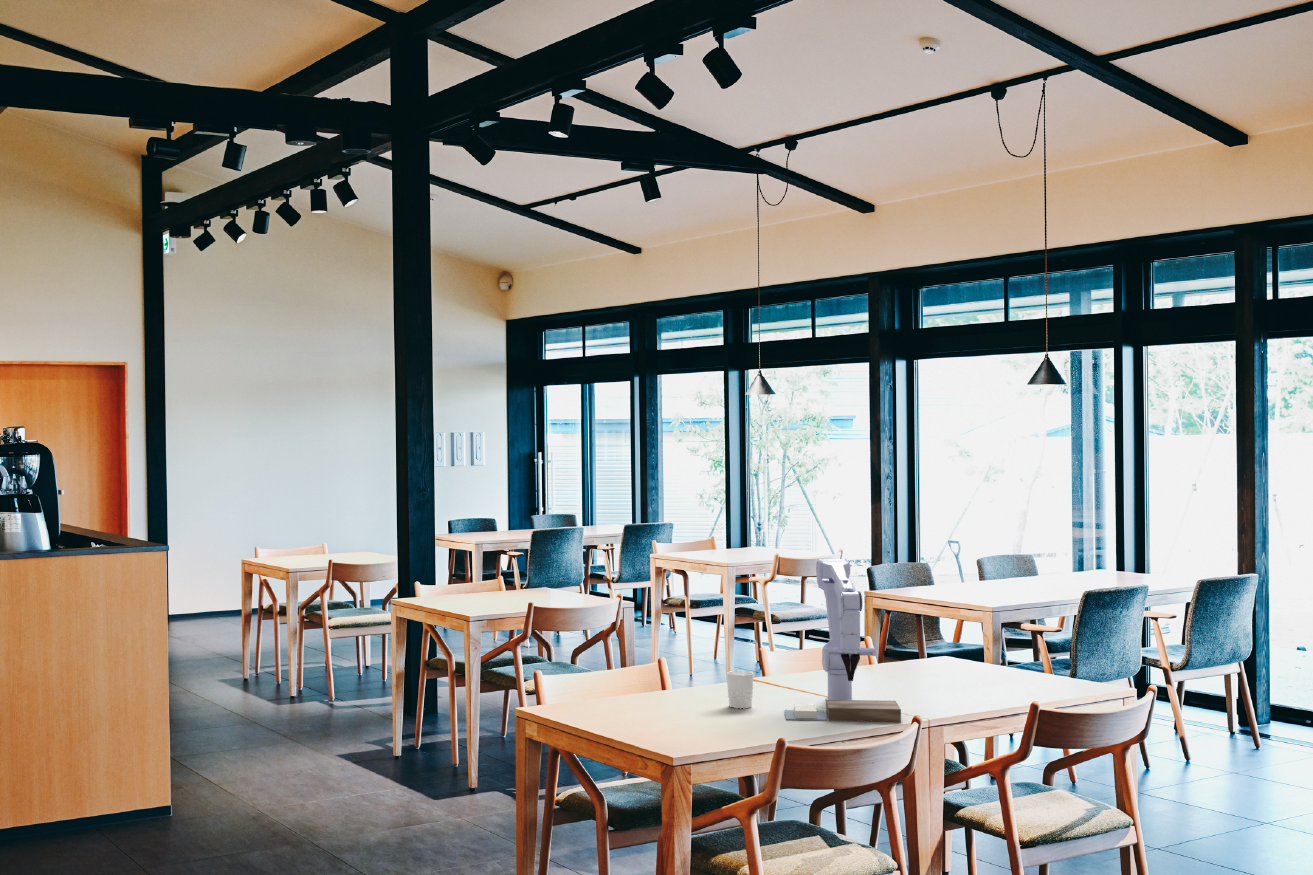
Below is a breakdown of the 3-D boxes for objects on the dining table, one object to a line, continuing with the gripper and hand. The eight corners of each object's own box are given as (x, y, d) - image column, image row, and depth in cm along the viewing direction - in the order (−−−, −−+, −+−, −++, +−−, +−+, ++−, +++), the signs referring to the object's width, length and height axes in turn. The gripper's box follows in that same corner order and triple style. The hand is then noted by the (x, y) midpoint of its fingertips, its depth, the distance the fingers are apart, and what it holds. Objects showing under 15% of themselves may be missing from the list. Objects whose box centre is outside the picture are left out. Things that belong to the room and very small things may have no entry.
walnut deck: (826, 711, 339) (826, 699, 339) (895, 712, 337) (895, 700, 337) (828, 720, 327) (828, 708, 327) (900, 721, 325) (900, 709, 325)
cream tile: (815, 704, 338) (815, 711, 338) (794, 704, 338) (794, 711, 338) (816, 710, 329) (816, 718, 329) (795, 710, 329) (795, 717, 329)
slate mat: (784, 711, 340) (784, 709, 340) (824, 711, 339) (824, 710, 339) (785, 720, 328) (785, 718, 328) (827, 720, 327) (827, 719, 327)
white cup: (738, 710, 341) (738, 676, 342) (721, 705, 348) (721, 672, 348) (759, 706, 346) (758, 673, 346) (741, 702, 352) (741, 669, 353)
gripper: (825, 635, 334) (826, 682, 334) (876, 635, 333) (877, 683, 333) (824, 631, 342) (824, 677, 341) (874, 631, 340) (874, 678, 340)
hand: (850, 680), depth 338 cm, fingers closed
